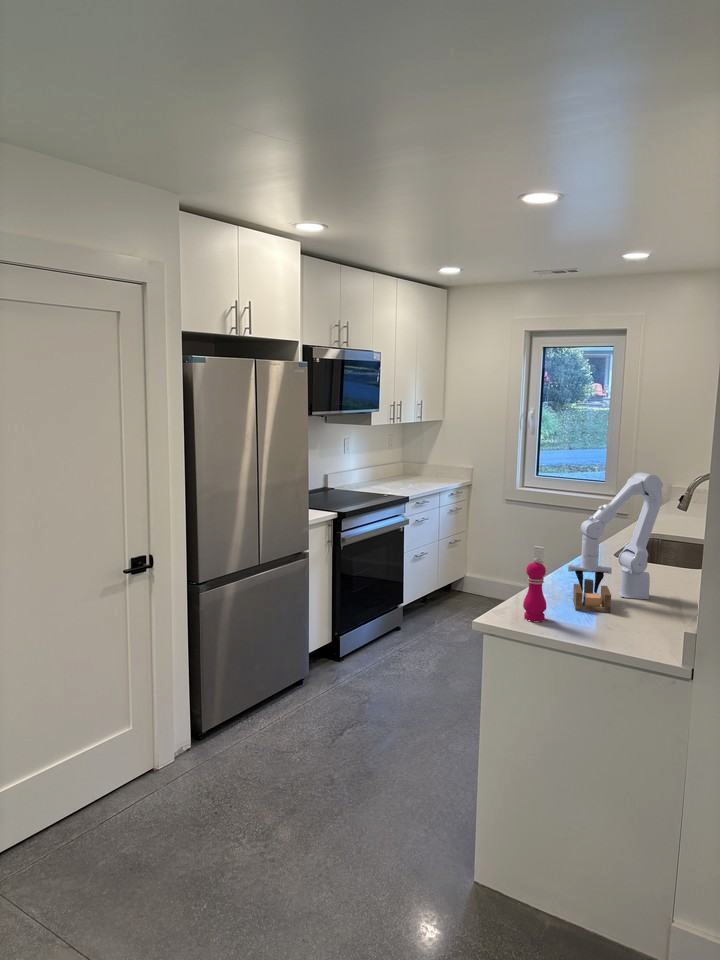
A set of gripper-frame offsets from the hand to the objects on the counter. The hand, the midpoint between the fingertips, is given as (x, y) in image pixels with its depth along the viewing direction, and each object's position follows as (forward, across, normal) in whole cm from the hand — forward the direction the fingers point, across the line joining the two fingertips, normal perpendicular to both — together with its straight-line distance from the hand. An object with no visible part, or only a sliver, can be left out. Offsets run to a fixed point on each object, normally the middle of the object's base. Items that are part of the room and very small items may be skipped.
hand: (588, 592), depth 240 cm
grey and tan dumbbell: (+2, 0, +7) cm, 7 cm away
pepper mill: (+2, +19, +28) cm, 34 cm away
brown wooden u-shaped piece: (+2, 0, +10) cm, 11 cm away
